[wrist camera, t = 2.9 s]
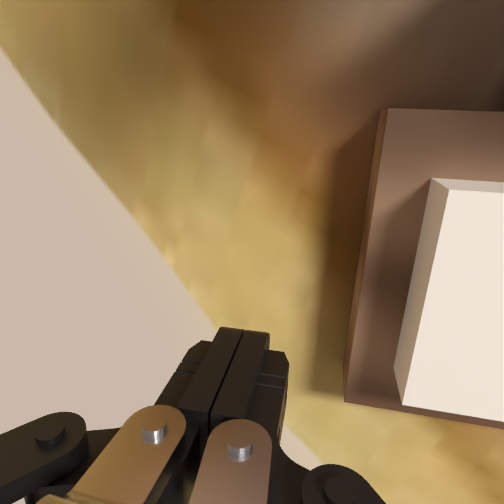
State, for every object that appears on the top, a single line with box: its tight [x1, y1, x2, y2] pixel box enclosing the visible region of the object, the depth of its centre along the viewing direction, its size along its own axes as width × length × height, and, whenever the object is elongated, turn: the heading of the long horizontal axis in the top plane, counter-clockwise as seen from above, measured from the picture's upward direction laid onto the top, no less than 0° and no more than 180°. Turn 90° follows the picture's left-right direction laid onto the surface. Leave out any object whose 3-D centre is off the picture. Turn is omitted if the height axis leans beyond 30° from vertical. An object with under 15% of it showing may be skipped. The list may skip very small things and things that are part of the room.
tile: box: [393, 178, 504, 422], centre depth 15 cm, size 9×6×2 cm, turn 178°
